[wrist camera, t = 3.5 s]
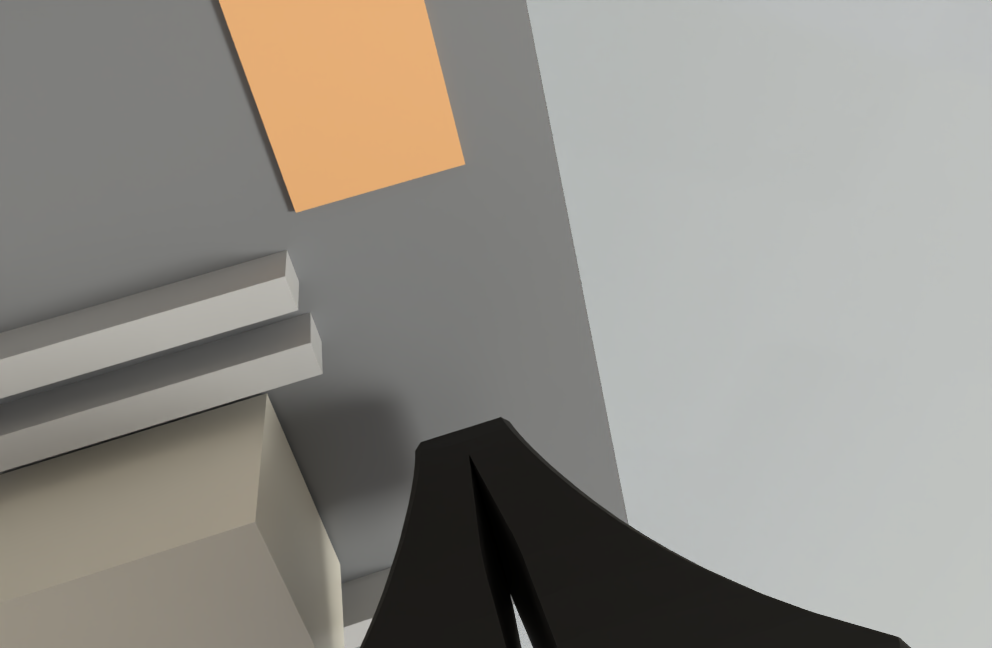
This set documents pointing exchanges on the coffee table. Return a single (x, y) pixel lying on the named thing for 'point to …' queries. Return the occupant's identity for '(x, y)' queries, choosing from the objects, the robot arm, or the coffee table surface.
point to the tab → (170, 542)
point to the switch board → (291, 242)
